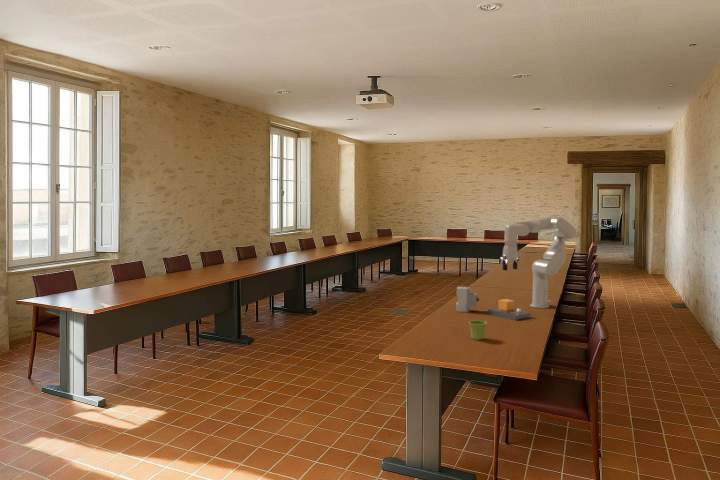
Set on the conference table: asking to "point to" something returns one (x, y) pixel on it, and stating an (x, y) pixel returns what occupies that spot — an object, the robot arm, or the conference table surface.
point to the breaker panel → (509, 313)
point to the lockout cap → (506, 304)
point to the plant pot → (477, 329)
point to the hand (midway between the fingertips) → (509, 269)
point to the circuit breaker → (465, 299)
